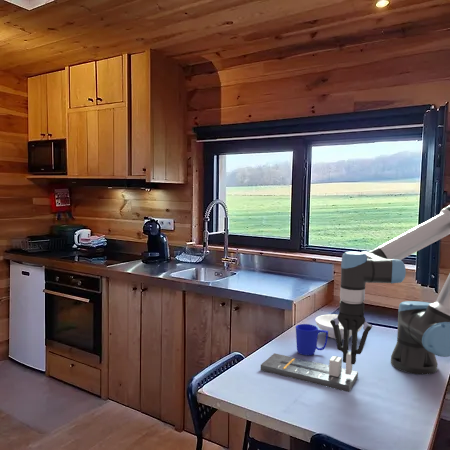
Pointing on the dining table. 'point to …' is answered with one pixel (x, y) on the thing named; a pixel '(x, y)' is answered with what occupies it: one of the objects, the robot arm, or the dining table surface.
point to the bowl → (325, 325)
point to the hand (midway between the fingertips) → (348, 372)
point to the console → (308, 372)
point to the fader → (335, 366)
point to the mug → (308, 339)
